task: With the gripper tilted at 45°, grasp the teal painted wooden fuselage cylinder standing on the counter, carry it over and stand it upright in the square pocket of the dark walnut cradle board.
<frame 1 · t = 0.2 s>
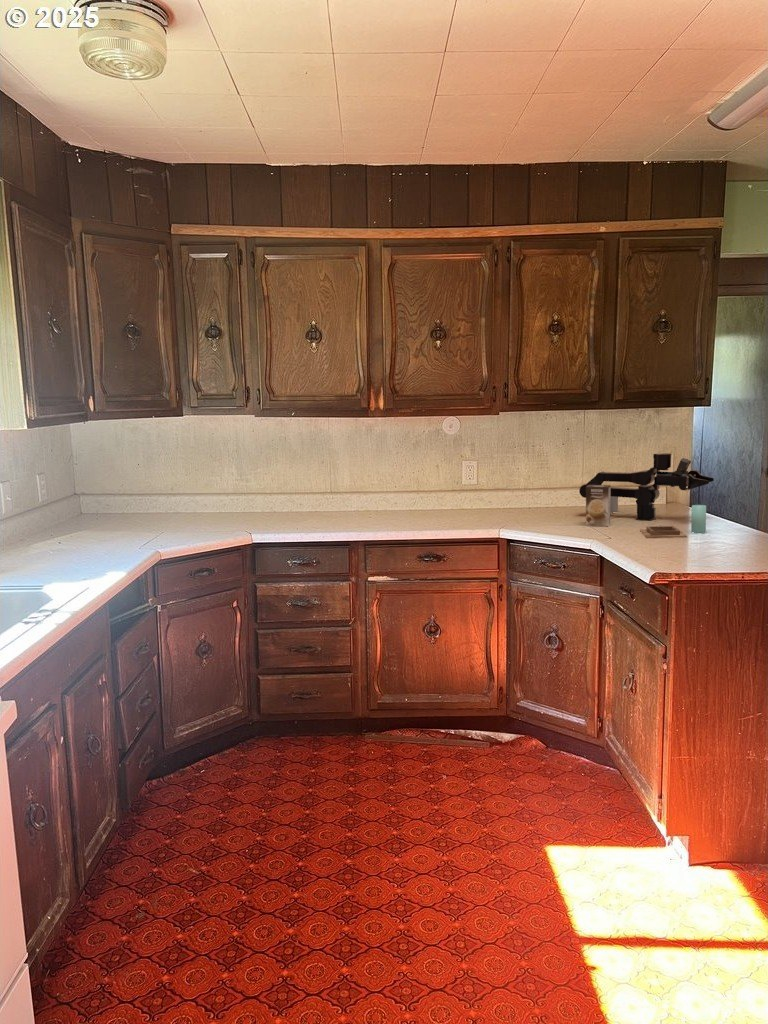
hand: (711, 480, 302), 17 cm above the counter, tool horizontal, fingers open, 9 cm apart
cradle board: (662, 534, 285), on the counter
coffee box: (598, 525, 310), on the counter
fuselage: (698, 532, 286), on the counter
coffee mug: (608, 512, 342), on the counter
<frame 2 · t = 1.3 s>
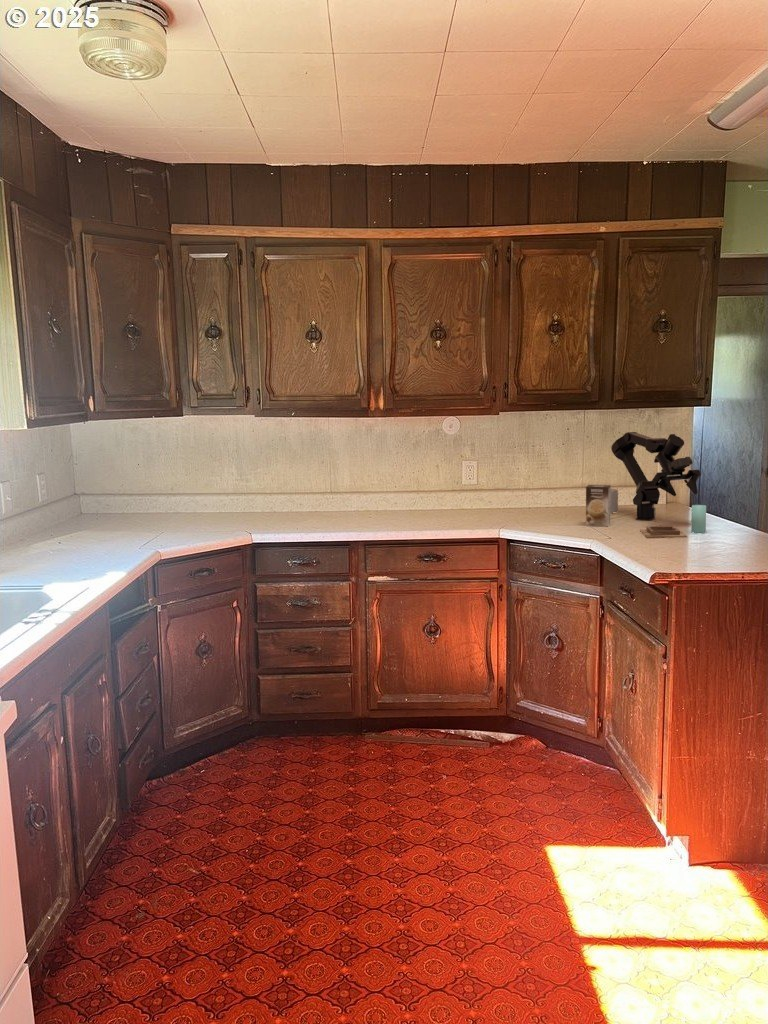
hand: (685, 494, 292), 13 cm above the counter, tool tilted 45°, fingers open, 9 cm apart
nothing on the counter moved.
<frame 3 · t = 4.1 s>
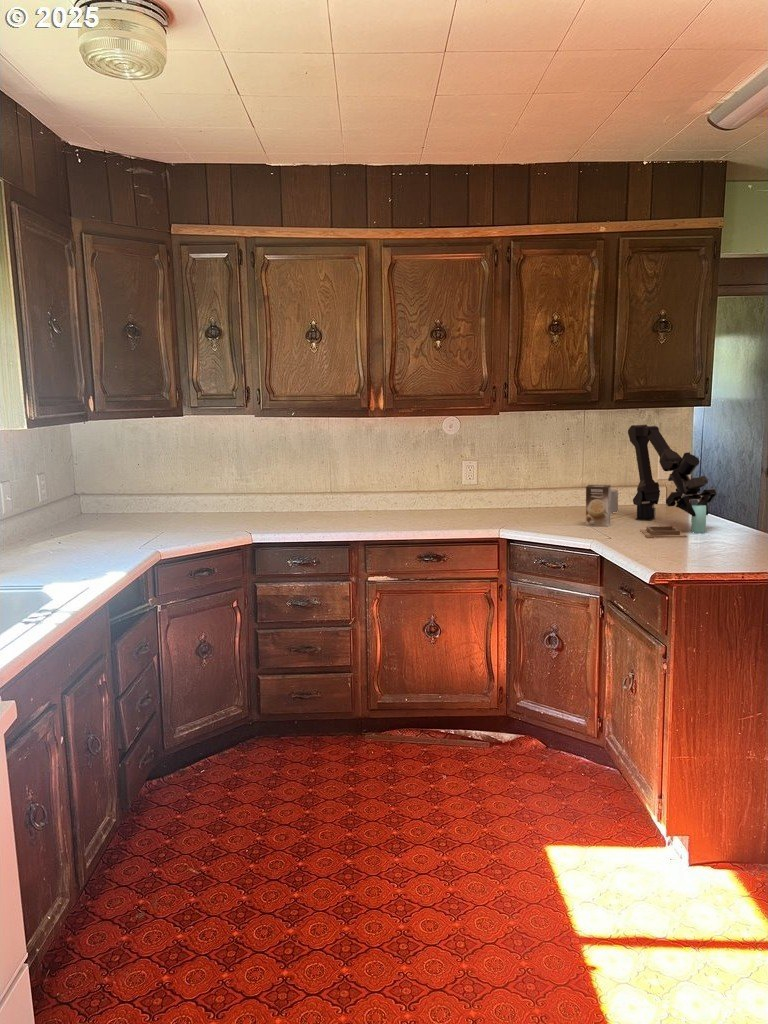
hand: (701, 515, 284), 7 cm above the counter, tool tilted 45°, fingers closed on fuselage, 5 cm apart
fuselage: (698, 532, 286), on the counter, touching gripper
everything else where it was.
when the fingers open (8 cm above the counter, at t = 8.3 s): fuselage stays where it is, resting on cradle board.
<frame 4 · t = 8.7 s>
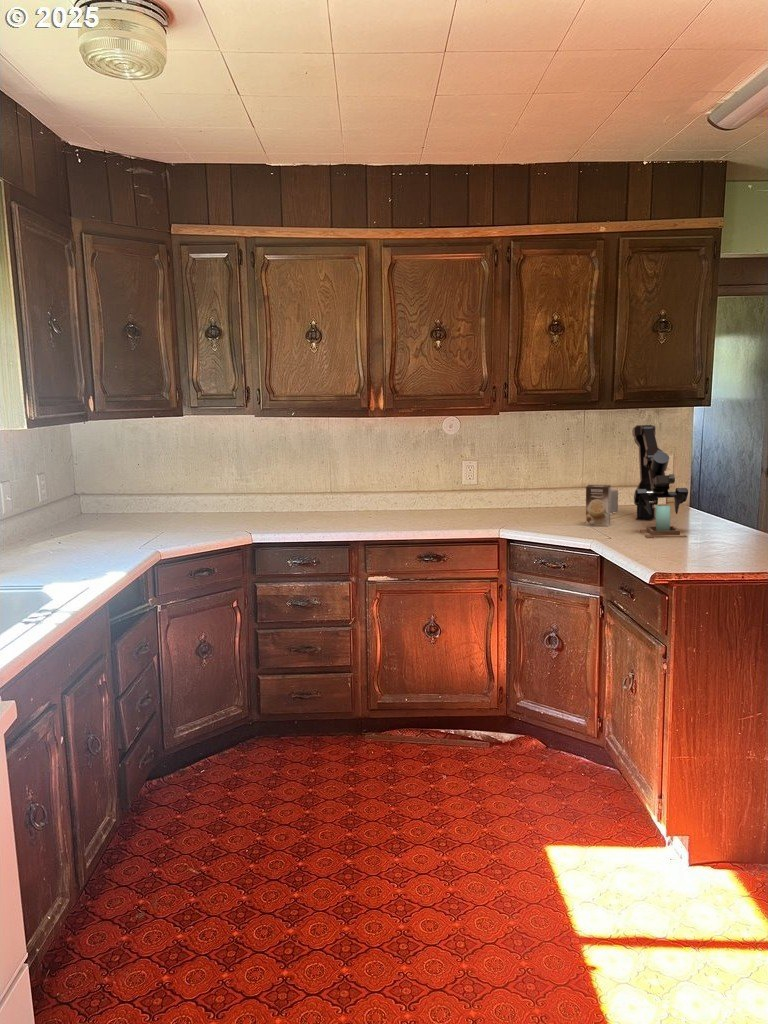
hand: (663, 513, 283), 8 cm above the counter, tool tilted 45°, fingers open, 9 cm apart
fuselage: (662, 532, 285), point 1 cm above the counter, touching cradle board
everything else where it was.
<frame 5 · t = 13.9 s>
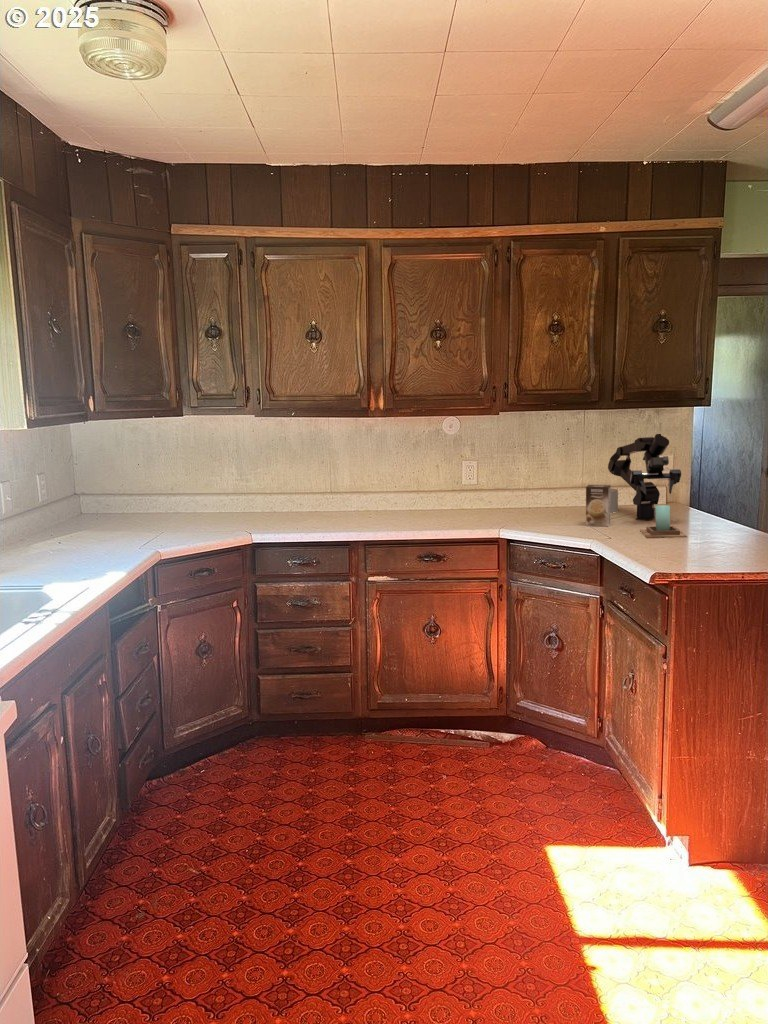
hand: (658, 493, 299), 13 cm above the counter, tool tilted 45°, fingers open, 9 cm apart
nothing on the counter moved.
at the end: fuselage 0.0 cm off-centre on the cradle board, point 0.6 cm above the cradle board's base; fuselage tilted 0°; the gripper is holding nothing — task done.
